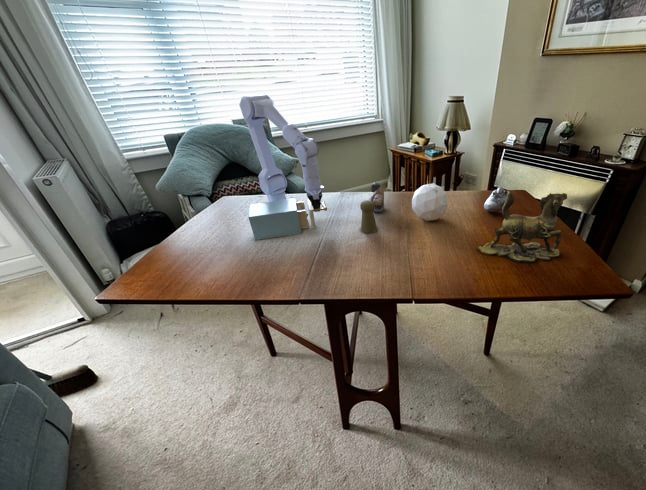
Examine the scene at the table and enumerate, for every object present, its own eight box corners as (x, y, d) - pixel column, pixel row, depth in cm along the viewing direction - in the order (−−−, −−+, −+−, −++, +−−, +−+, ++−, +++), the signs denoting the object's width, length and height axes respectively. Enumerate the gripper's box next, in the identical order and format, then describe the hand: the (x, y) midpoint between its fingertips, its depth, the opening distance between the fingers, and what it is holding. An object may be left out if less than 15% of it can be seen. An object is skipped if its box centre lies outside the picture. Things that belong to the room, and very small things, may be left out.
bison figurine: (384, 214, 126) (383, 190, 121) (367, 214, 126) (366, 191, 121) (384, 203, 136) (383, 181, 130) (368, 204, 136) (367, 181, 131)
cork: (377, 226, 117) (376, 198, 111) (375, 233, 112) (374, 204, 106) (362, 225, 118) (360, 198, 112) (359, 232, 113) (357, 204, 107)
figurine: (565, 265, 91) (589, 200, 79) (478, 259, 95) (489, 197, 83) (554, 244, 101) (573, 184, 90) (476, 240, 105) (485, 182, 94)
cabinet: (299, 219, 125) (294, 198, 119) (301, 232, 115) (296, 210, 109) (256, 226, 121) (250, 204, 116) (255, 240, 111) (248, 217, 106)
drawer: (326, 214, 126) (323, 197, 122) (330, 225, 117) (327, 207, 113) (273, 222, 121) (269, 204, 117) (273, 234, 112) (268, 216, 108)
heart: (513, 211, 124) (513, 181, 118) (507, 219, 117) (507, 188, 112) (488, 210, 129) (487, 182, 124) (481, 218, 123) (480, 189, 117)
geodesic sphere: (463, 208, 114) (449, 172, 113) (434, 218, 107) (419, 180, 107) (439, 220, 127) (427, 188, 127) (413, 229, 121) (399, 195, 120)
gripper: (325, 180, 106) (330, 216, 113) (319, 169, 117) (324, 203, 125) (304, 182, 104) (311, 219, 112) (301, 171, 116) (307, 205, 123)
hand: (317, 211), depth 118 cm, fingers closed, pressing on drawer
